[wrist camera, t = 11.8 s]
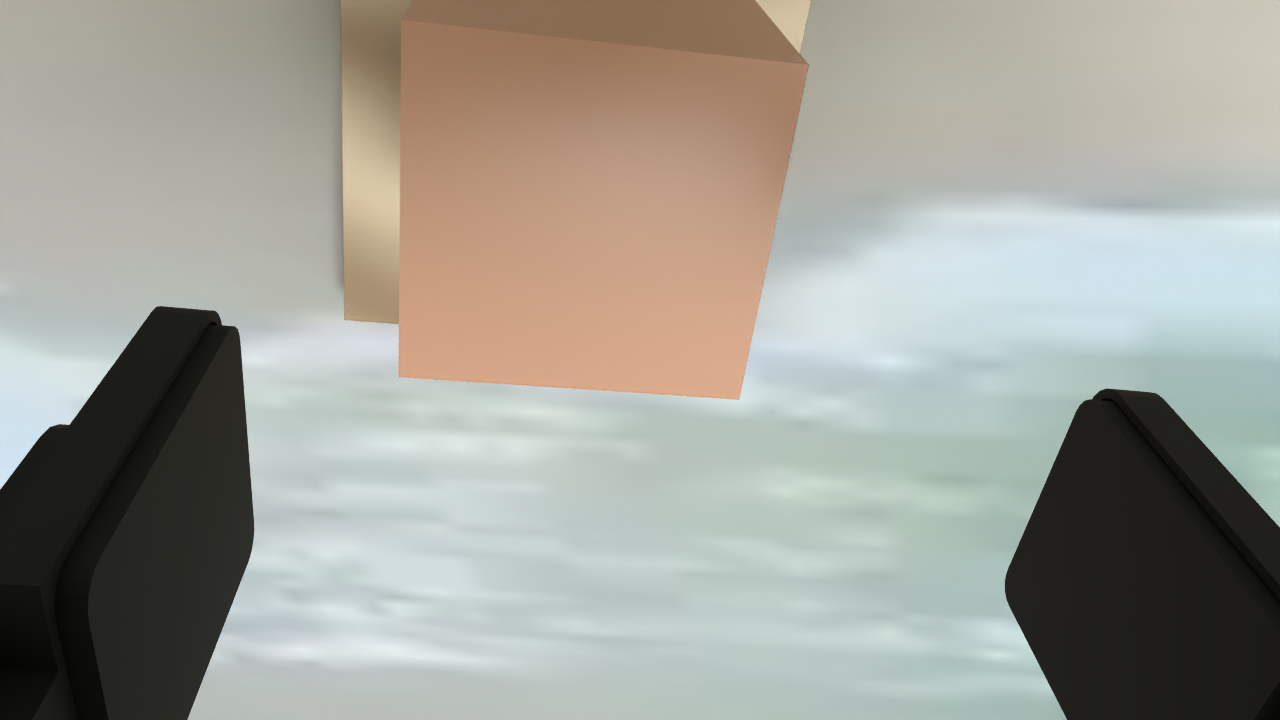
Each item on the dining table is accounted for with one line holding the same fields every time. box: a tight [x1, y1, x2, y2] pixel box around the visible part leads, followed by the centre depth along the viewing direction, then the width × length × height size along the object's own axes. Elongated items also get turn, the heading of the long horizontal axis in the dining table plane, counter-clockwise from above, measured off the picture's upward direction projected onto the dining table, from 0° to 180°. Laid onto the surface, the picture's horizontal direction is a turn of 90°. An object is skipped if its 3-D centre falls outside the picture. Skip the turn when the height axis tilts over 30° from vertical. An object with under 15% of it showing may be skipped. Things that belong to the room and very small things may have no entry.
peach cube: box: [399, 0, 809, 400], centre depth 20 cm, size 6×6×5 cm
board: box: [341, 0, 811, 324], centre depth 22 cm, size 14×11×10 cm
